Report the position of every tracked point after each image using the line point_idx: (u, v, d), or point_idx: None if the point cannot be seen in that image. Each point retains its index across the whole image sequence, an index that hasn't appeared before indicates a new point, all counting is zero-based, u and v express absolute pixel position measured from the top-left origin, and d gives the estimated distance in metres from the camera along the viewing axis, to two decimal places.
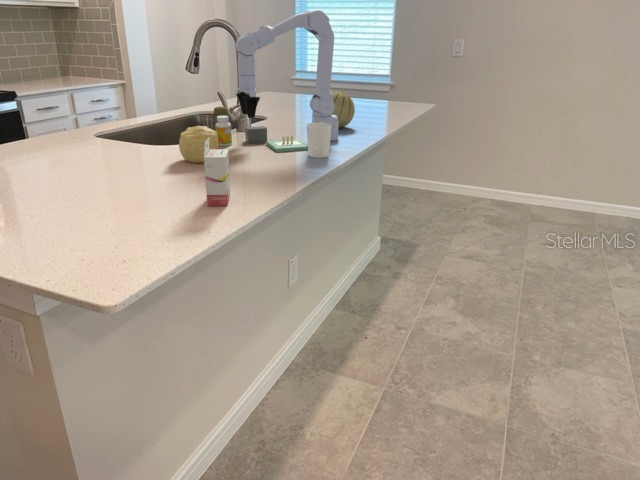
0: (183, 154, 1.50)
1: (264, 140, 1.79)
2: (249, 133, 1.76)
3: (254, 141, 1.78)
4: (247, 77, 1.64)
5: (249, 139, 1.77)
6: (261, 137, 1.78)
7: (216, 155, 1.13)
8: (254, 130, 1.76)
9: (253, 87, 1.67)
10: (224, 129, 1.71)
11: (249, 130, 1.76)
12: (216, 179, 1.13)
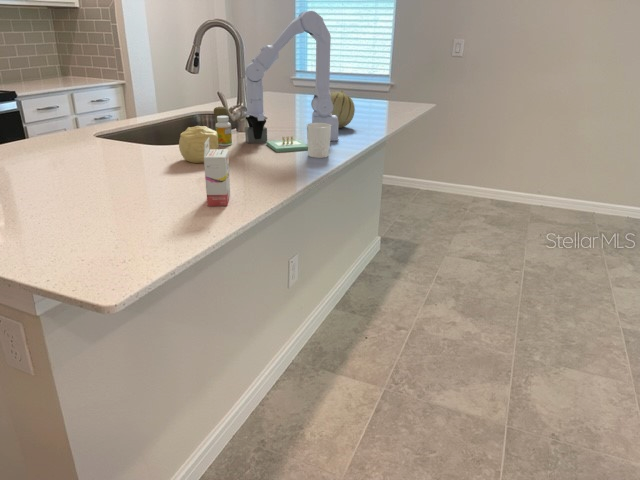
0: (183, 154, 1.50)
1: (264, 140, 1.79)
2: (249, 133, 1.76)
3: (254, 141, 1.78)
4: (255, 102, 1.72)
5: (249, 139, 1.77)
6: (261, 137, 1.78)
7: (216, 155, 1.13)
8: None
9: (261, 111, 1.74)
10: (224, 129, 1.71)
11: (249, 130, 1.76)
12: (216, 179, 1.13)
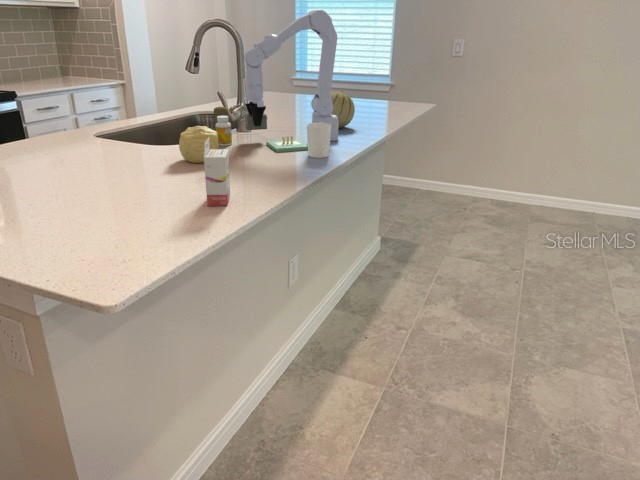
0: (183, 154, 1.50)
1: (264, 127, 1.77)
2: (249, 120, 1.74)
3: (254, 128, 1.76)
4: (255, 88, 1.70)
5: (249, 126, 1.75)
6: (261, 124, 1.77)
7: (216, 155, 1.13)
8: None
9: (261, 97, 1.73)
10: (224, 129, 1.71)
11: (249, 117, 1.74)
12: (216, 179, 1.13)
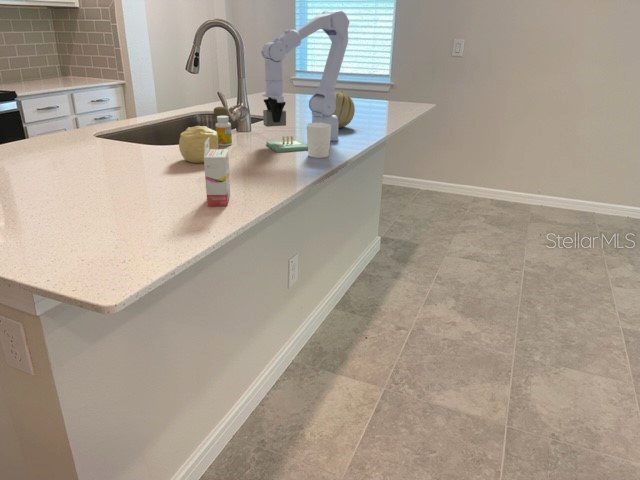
0: (183, 154, 1.50)
1: (283, 123, 1.72)
2: (267, 116, 1.69)
3: (272, 124, 1.71)
4: (274, 83, 1.65)
5: (267, 122, 1.70)
6: (280, 120, 1.71)
7: (216, 155, 1.13)
8: None
9: (280, 93, 1.67)
10: (224, 129, 1.71)
11: (267, 113, 1.69)
12: (216, 179, 1.13)
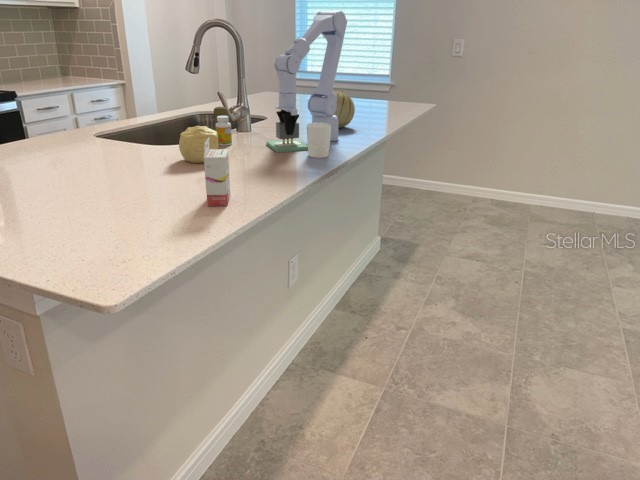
0: (183, 154, 1.50)
1: (296, 136, 1.71)
2: (281, 128, 1.67)
3: (286, 137, 1.69)
4: (288, 95, 1.63)
5: (280, 135, 1.68)
6: (293, 133, 1.70)
7: (216, 155, 1.13)
8: None
9: (294, 105, 1.66)
10: (224, 130, 1.71)
11: (281, 125, 1.67)
12: (216, 179, 1.13)
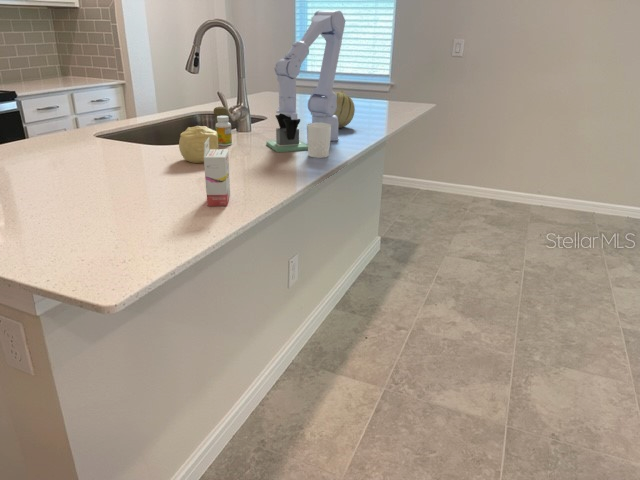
0: (183, 154, 1.50)
1: (296, 142, 1.71)
2: (281, 135, 1.68)
3: (286, 143, 1.70)
4: (288, 99, 1.64)
5: (281, 141, 1.69)
6: None
7: (216, 155, 1.13)
8: (286, 131, 1.69)
9: (294, 109, 1.66)
10: (224, 129, 1.71)
11: (281, 131, 1.68)
12: (216, 179, 1.13)
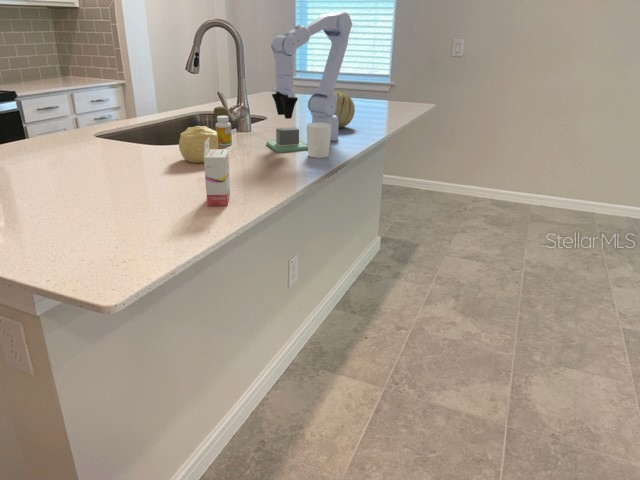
0: (183, 154, 1.50)
1: (296, 142, 1.71)
2: (281, 135, 1.68)
3: (286, 143, 1.70)
4: (285, 77, 1.62)
5: (281, 141, 1.69)
6: (293, 139, 1.71)
7: (216, 155, 1.13)
8: (286, 131, 1.69)
9: (290, 87, 1.64)
10: (224, 129, 1.71)
11: (281, 131, 1.68)
12: (216, 179, 1.13)
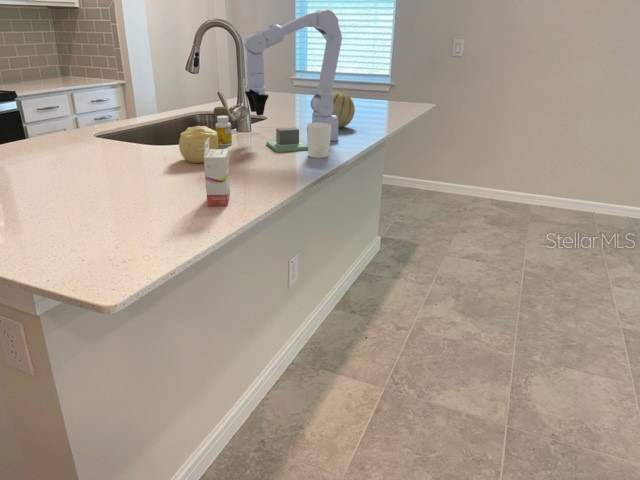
0: (183, 154, 1.50)
1: (296, 142, 1.71)
2: (281, 135, 1.68)
3: (286, 143, 1.70)
4: (256, 75, 1.67)
5: (281, 141, 1.69)
6: (293, 139, 1.71)
7: (216, 155, 1.13)
8: (286, 131, 1.69)
9: (262, 85, 1.69)
10: (224, 129, 1.71)
11: (281, 131, 1.68)
12: (216, 179, 1.13)
